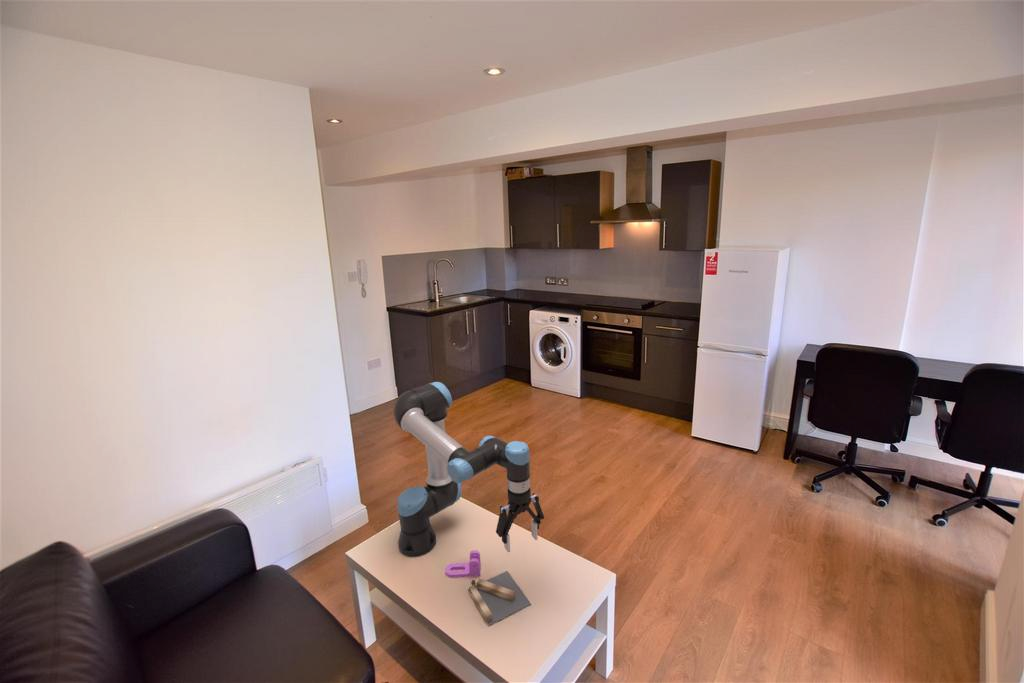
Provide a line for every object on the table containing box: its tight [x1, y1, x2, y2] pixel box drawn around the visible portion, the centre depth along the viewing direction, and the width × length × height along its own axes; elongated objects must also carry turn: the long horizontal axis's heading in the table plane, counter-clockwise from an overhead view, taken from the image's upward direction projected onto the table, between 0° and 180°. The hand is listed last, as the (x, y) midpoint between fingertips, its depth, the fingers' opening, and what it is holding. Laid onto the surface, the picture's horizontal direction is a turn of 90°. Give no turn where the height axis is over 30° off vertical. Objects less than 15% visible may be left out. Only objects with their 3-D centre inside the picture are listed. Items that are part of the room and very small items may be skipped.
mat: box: [467, 570, 532, 627], centre depth 159 cm, size 17×16×1 cm
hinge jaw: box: [476, 578, 515, 601], centre depth 160 cm, size 14×2×2 cm, turn 64°
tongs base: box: [468, 579, 492, 623], centre depth 155 cm, size 16×3×3 cm, turn 29°
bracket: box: [445, 549, 482, 579], centre depth 170 cm, size 13×6×7 cm, turn 91°
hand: (521, 543), depth 156 cm, fingers open, 10 cm apart
